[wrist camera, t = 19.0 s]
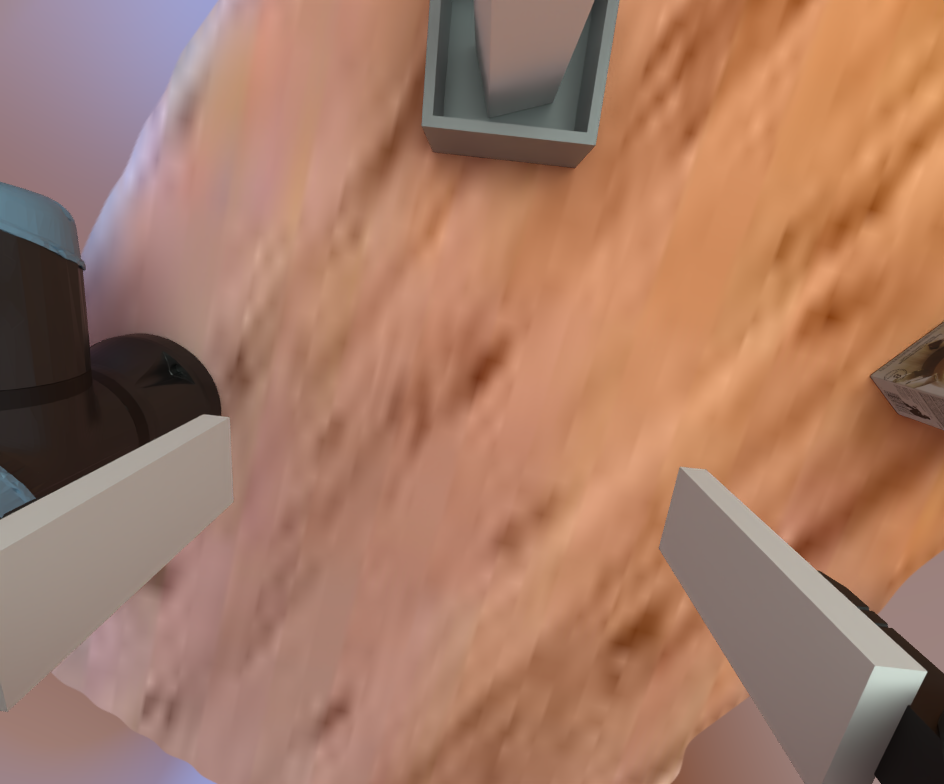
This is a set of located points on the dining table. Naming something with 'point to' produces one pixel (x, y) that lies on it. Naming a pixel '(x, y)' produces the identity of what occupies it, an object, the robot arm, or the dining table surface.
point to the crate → (522, 132)
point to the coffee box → (917, 380)
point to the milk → (525, 49)
